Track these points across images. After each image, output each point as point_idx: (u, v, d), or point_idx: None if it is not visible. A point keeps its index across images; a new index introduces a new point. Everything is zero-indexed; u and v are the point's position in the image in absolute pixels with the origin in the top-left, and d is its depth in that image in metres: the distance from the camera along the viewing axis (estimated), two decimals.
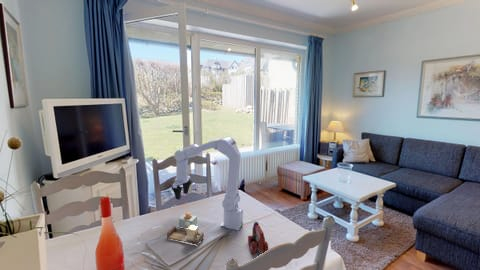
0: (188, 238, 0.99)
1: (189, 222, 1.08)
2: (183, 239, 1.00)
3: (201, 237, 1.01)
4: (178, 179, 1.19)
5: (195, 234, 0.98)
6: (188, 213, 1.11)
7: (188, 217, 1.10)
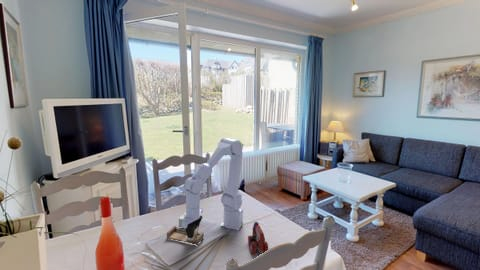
0: (188, 238, 0.99)
1: None
2: (183, 239, 1.00)
3: (201, 237, 1.01)
4: (188, 215, 0.96)
5: (195, 234, 0.98)
6: None
7: None
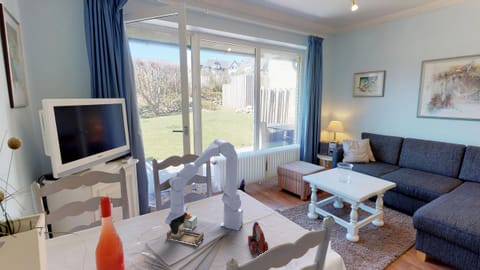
0: (173, 234, 1.01)
1: (189, 222, 1.08)
2: (183, 239, 1.00)
3: (201, 237, 1.01)
4: (172, 212, 0.98)
5: (179, 230, 1.01)
6: (188, 213, 1.11)
7: (188, 217, 1.10)
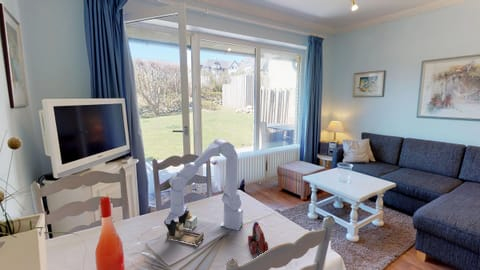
0: None
1: (189, 222, 1.08)
2: (183, 239, 1.00)
3: (201, 237, 1.01)
4: (172, 212, 0.98)
5: (179, 230, 1.01)
6: None
7: (188, 217, 1.10)
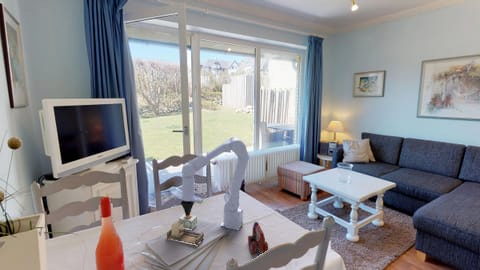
0: (173, 234, 1.01)
1: (189, 222, 1.08)
2: (183, 239, 1.00)
3: (201, 237, 1.01)
4: None
5: (179, 230, 1.01)
6: None
7: (188, 218, 1.10)
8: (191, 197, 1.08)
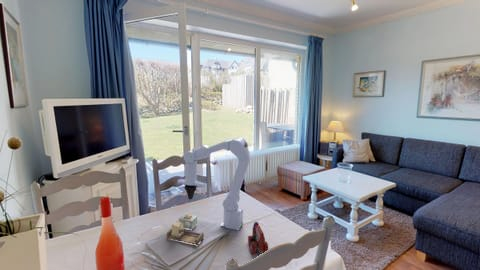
0: (173, 234, 1.01)
1: (189, 222, 1.08)
2: (183, 239, 1.00)
3: (201, 237, 1.01)
4: None
5: (179, 230, 1.01)
6: (188, 216, 1.11)
7: None
8: (194, 182, 1.16)
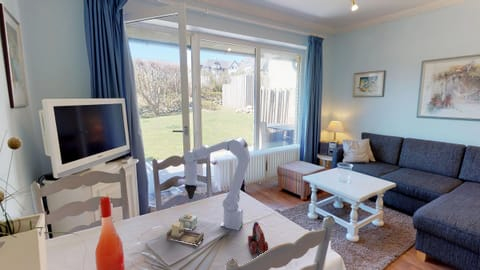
0: (173, 234, 1.01)
1: (189, 222, 1.08)
2: (183, 239, 1.00)
3: (201, 237, 1.01)
4: None
5: (179, 230, 1.01)
6: (188, 216, 1.11)
7: None
8: (194, 181, 1.17)
